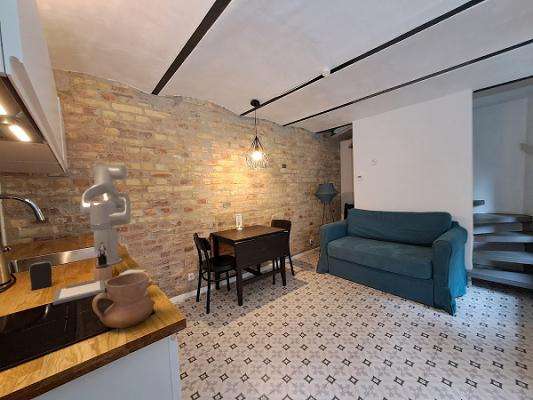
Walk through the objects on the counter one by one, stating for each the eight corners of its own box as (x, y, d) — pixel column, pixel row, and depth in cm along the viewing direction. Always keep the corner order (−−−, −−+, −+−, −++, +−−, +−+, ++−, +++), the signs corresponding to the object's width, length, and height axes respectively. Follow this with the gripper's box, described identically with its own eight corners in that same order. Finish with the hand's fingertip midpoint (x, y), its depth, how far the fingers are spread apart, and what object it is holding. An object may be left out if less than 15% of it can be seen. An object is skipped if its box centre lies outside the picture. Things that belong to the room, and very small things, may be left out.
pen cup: (94, 278, 110) (93, 266, 110) (111, 274, 114) (110, 263, 114) (94, 282, 104) (93, 270, 104) (112, 279, 109) (111, 266, 108)
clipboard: (57, 291, 96) (57, 287, 96) (103, 281, 105) (103, 278, 105) (53, 305, 85) (52, 300, 84) (105, 292, 94) (104, 288, 94)
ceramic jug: (153, 303, 85) (152, 266, 84) (162, 320, 73) (160, 278, 73) (94, 320, 74) (92, 278, 74) (93, 344, 63) (90, 294, 62)
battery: (53, 283, 104) (51, 259, 104) (52, 286, 101) (51, 261, 101) (31, 288, 100) (29, 263, 99) (30, 291, 97) (28, 265, 96)
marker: (98, 277, 110) (97, 257, 109) (107, 275, 112) (106, 256, 111) (98, 279, 107) (97, 259, 106) (107, 277, 109) (106, 257, 109)
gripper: (90, 225, 113) (92, 259, 113) (90, 230, 99) (92, 268, 100) (108, 224, 117) (110, 256, 118) (111, 228, 104) (113, 264, 104)
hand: (102, 262), depth 109 cm, fingers open, 9 cm apart
